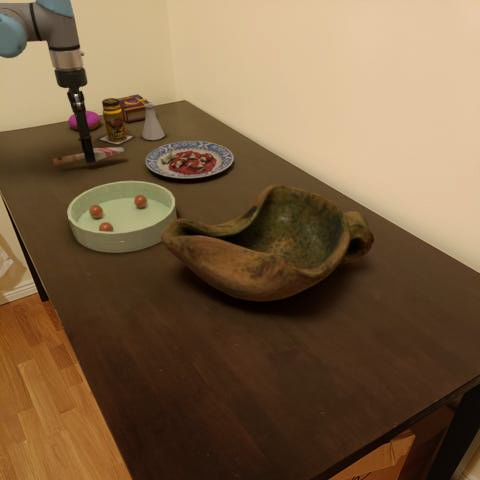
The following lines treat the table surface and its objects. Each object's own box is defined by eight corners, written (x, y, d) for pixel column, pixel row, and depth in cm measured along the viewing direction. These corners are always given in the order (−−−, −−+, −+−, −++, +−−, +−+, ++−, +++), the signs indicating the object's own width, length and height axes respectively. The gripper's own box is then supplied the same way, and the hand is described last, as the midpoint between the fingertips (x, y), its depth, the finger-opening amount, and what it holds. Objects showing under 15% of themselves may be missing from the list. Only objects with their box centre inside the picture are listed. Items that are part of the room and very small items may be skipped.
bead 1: (91, 221, 102) (88, 209, 100) (90, 215, 105) (86, 203, 102) (105, 219, 103) (102, 207, 101) (103, 213, 105) (100, 201, 103)
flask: (154, 131, 147) (150, 99, 140) (169, 136, 144) (165, 104, 137) (138, 137, 143) (133, 105, 136) (152, 142, 140) (148, 110, 133)
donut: (65, 128, 149) (61, 114, 146) (89, 120, 155) (85, 106, 152) (83, 135, 144) (80, 121, 141) (107, 126, 150) (104, 112, 147)
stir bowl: (79, 262, 92) (73, 243, 88) (68, 209, 108) (62, 190, 105) (189, 239, 98) (187, 220, 95) (163, 192, 115) (160, 174, 111)
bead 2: (101, 240, 97) (98, 228, 94) (99, 233, 99) (96, 221, 97) (115, 237, 97) (113, 225, 95) (113, 230, 100) (110, 218, 97)
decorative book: (127, 124, 152) (124, 109, 148) (111, 111, 162) (108, 97, 158) (156, 118, 156) (154, 103, 153) (139, 106, 166) (137, 91, 163)
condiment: (118, 144, 138) (110, 105, 130) (98, 139, 141) (90, 100, 133) (133, 137, 143) (126, 98, 135) (113, 132, 146) (106, 94, 138)
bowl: (215, 361, 71) (220, 291, 61) (153, 264, 89) (148, 197, 79) (388, 300, 87) (415, 236, 77) (305, 228, 105) (318, 169, 94)
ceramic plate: (248, 157, 131) (248, 147, 129) (205, 192, 115) (204, 182, 113) (178, 142, 140) (177, 132, 138) (128, 173, 123) (126, 163, 121)
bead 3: (136, 211, 106) (134, 199, 104) (134, 205, 108) (131, 193, 106) (149, 209, 107) (147, 197, 105) (146, 203, 109) (144, 191, 107)
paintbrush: (123, 146, 124) (52, 160, 119) (126, 155, 126) (55, 169, 121) (121, 141, 126) (51, 154, 121) (123, 150, 128) (54, 164, 123)
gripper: (88, 75, 104) (107, 168, 120) (80, 58, 115) (98, 146, 131) (56, 77, 101) (80, 172, 118) (51, 61, 113) (73, 149, 129)
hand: (89, 158), depth 124 cm, fingers closed on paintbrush, 4 cm apart
